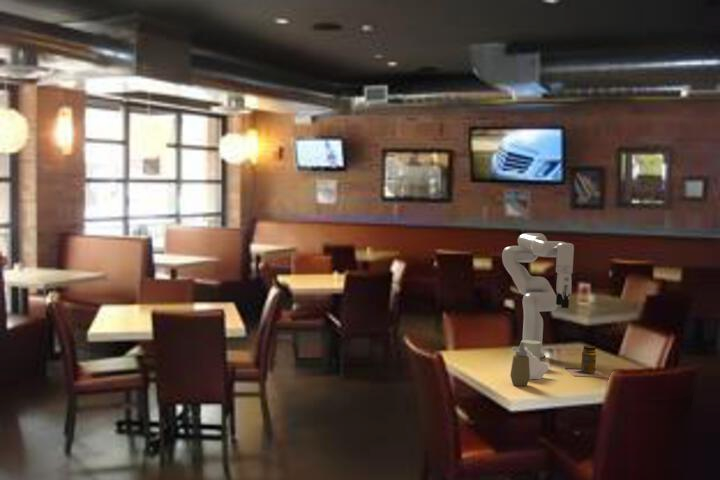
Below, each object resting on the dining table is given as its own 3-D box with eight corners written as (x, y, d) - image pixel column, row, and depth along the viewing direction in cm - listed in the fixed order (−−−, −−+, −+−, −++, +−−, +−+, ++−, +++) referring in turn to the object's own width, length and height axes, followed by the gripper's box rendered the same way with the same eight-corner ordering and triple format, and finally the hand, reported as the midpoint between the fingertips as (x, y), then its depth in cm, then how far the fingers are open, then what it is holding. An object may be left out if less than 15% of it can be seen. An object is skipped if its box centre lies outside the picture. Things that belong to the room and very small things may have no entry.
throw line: (565, 369, 359) (565, 368, 359) (565, 368, 360) (565, 367, 360) (596, 370, 359) (596, 369, 359) (595, 369, 360) (595, 368, 360)
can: (541, 365, 364) (543, 340, 364) (537, 369, 356) (538, 343, 355) (522, 363, 368) (523, 338, 367) (517, 366, 360) (518, 341, 359)
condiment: (599, 374, 350) (600, 347, 349) (585, 375, 345) (587, 348, 345) (586, 370, 356) (588, 344, 355) (573, 372, 352) (575, 345, 351)
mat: (573, 376, 345) (573, 375, 345) (566, 370, 357) (566, 369, 357) (605, 377, 345) (605, 376, 345) (597, 371, 357) (597, 370, 357)
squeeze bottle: (507, 382, 329) (509, 340, 328) (526, 382, 330) (528, 340, 328) (512, 387, 321) (515, 343, 320) (532, 387, 321) (534, 344, 320)
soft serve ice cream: (539, 385, 332) (536, 355, 328) (506, 383, 340) (502, 352, 336) (548, 373, 342) (545, 343, 338) (516, 370, 350) (512, 341, 346)
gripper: (577, 271, 352) (575, 309, 354) (567, 268, 370) (565, 303, 371) (560, 271, 353) (558, 308, 354) (551, 267, 370) (549, 303, 371)
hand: (562, 306), depth 362 cm, fingers open, 9 cm apart
